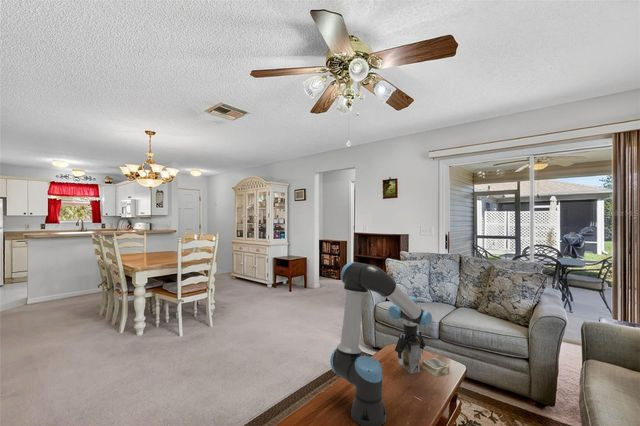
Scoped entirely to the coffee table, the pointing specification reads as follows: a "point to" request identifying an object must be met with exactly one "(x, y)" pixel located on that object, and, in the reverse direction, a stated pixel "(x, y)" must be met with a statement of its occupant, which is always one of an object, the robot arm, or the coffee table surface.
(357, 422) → the robot arm
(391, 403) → the coffee table surface
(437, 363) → the square framed mirror
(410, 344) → the coffee box
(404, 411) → the coffee table surface
